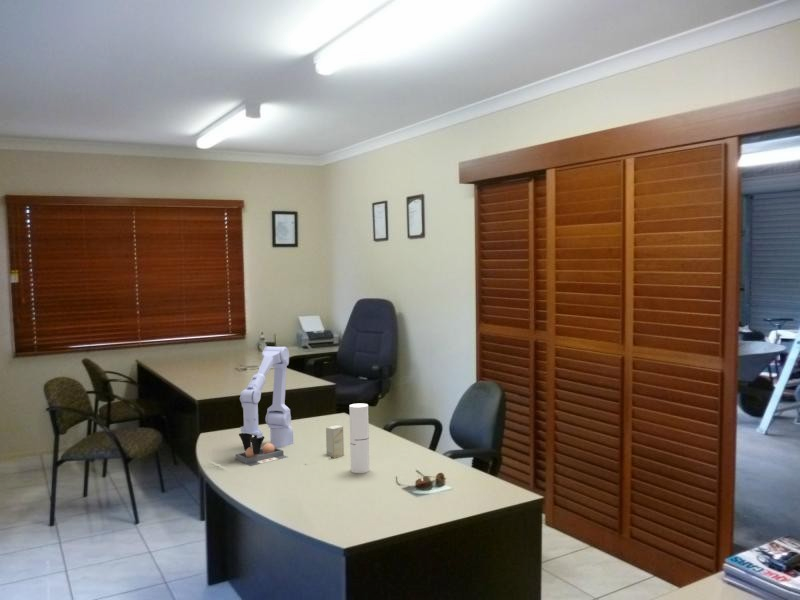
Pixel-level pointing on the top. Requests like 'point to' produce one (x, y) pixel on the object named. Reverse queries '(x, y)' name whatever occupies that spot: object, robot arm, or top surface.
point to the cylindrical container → (359, 438)
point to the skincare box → (335, 441)
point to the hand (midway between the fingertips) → (251, 452)
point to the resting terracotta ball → (268, 448)
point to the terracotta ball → (250, 452)
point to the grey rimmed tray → (261, 457)
